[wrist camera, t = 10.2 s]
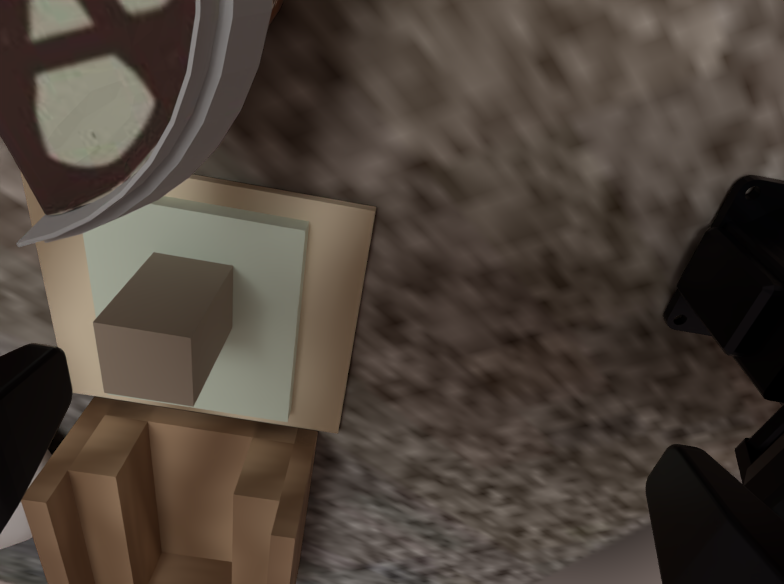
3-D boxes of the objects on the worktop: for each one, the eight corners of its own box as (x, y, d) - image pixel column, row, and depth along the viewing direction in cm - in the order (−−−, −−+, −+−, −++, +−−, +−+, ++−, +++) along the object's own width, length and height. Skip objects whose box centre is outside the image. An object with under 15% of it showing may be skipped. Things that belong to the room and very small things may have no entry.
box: (318, 431, 27) (295, 538, 22) (299, 564, 33) (278, 670, 29) (94, 396, 26) (20, 499, 22) (119, 538, 33) (67, 642, 28)
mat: (376, 206, 20) (375, 211, 20) (338, 427, 27) (337, 433, 26) (22, 143, 20) (15, 147, 19) (72, 385, 26) (67, 391, 26)
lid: (309, 221, 20) (277, 299, 16) (290, 409, 26) (263, 507, 21) (87, 182, 20) (-9, 251, 15) (116, 382, 25) (51, 476, 21)
